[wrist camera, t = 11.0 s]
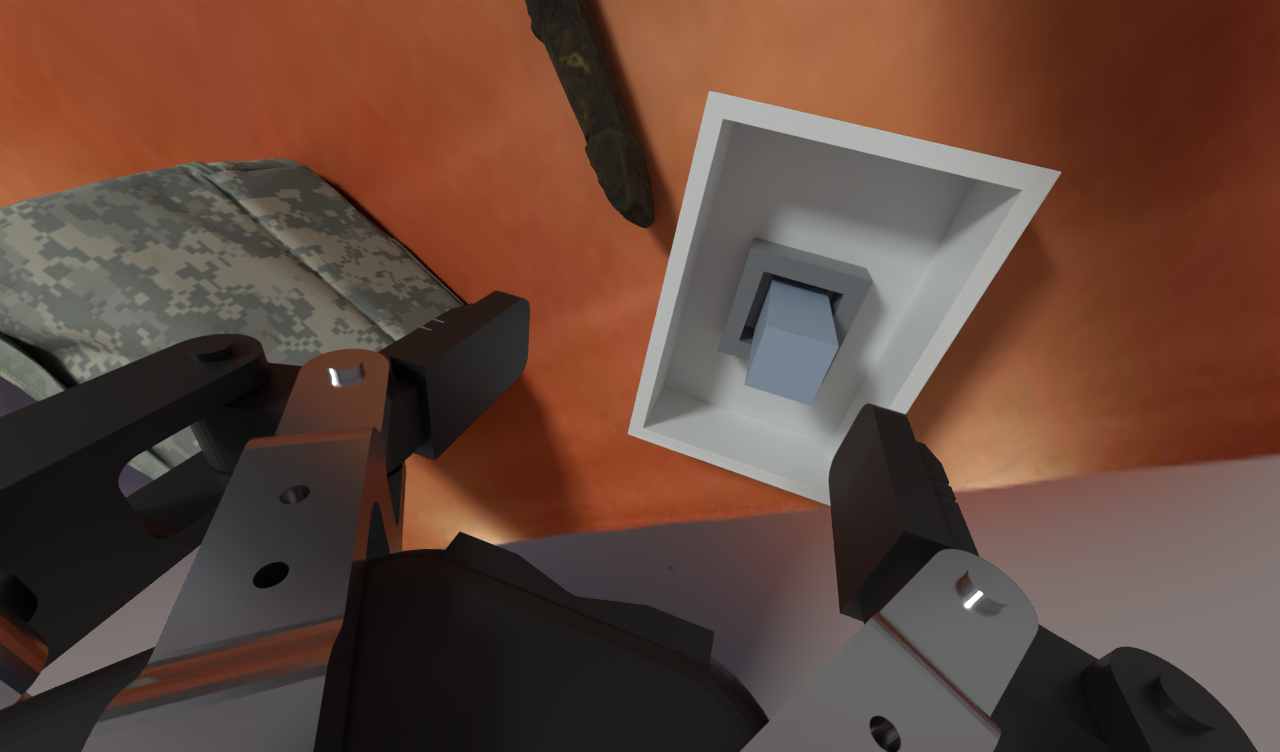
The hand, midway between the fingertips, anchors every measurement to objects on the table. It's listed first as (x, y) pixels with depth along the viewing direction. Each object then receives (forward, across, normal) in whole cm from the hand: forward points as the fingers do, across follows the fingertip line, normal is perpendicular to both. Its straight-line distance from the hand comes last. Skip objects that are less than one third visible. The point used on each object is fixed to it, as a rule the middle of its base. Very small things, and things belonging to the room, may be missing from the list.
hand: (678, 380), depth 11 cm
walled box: (+24, -4, +6) cm, 25 cm away
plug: (+22, -4, +6) cm, 24 cm away
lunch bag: (+24, +33, +17) cm, 44 cm away
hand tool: (+24, +12, -5) cm, 27 cm away
